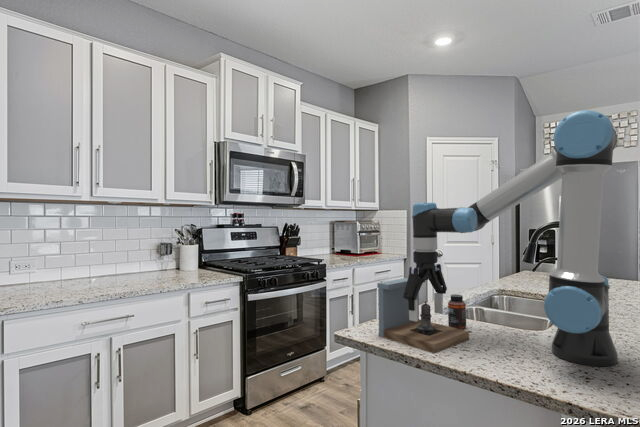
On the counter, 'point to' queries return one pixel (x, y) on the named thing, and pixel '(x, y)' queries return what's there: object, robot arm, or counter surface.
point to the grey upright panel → (393, 304)
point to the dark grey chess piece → (425, 321)
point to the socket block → (426, 336)
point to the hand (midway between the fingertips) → (426, 316)
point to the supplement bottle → (457, 312)
